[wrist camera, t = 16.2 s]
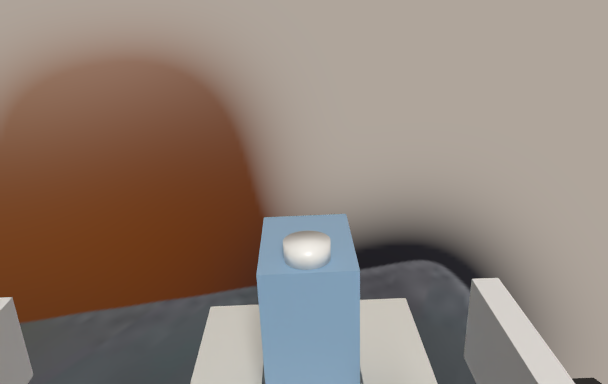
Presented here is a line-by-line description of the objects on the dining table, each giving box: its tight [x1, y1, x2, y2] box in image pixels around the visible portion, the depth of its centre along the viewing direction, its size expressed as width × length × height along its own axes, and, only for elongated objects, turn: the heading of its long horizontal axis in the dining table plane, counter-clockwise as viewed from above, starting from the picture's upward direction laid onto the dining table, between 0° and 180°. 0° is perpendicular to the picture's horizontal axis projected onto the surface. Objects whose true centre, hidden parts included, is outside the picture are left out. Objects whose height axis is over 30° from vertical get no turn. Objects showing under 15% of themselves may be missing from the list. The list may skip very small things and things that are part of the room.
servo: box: [256, 214, 360, 384], centre depth 31 cm, size 11×6×15 cm, turn 1°
